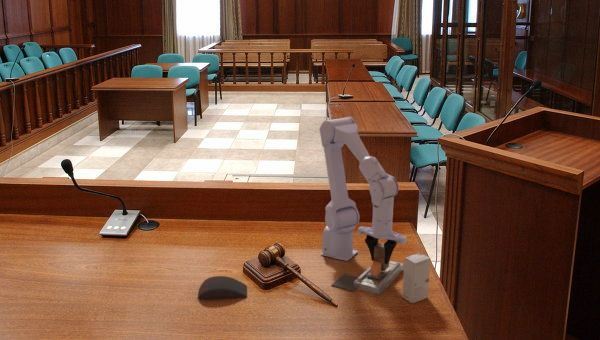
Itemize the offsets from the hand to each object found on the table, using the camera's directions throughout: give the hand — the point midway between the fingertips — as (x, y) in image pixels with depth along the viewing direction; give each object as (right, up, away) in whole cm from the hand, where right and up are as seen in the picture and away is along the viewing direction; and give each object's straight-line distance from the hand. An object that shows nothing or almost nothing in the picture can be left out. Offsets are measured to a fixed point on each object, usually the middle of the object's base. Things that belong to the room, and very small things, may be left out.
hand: (380, 261), depth 180 cm
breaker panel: (0, -5, +1) cm, 5 cm away
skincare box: (+8, -9, -9) cm, 15 cm away
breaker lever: (-2, -4, -2) cm, 5 cm away
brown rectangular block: (0, -2, +1) cm, 2 cm away
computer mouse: (-45, -8, -7) cm, 47 cm away
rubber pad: (-9, -6, -1) cm, 11 cm away
